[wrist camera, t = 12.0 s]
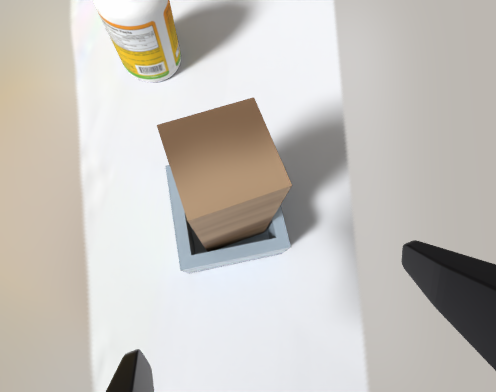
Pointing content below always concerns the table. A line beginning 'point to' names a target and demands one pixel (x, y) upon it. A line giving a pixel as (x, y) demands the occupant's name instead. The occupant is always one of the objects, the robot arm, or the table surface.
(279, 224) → the bin
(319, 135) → the table surface
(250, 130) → the walnut block
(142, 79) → the supplement bottle
